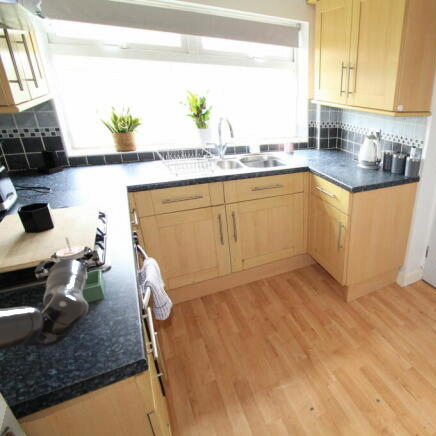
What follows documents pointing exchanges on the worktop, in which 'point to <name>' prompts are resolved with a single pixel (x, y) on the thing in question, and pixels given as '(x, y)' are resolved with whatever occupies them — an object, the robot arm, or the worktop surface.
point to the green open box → (94, 286)
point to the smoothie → (70, 252)
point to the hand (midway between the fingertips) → (72, 252)
